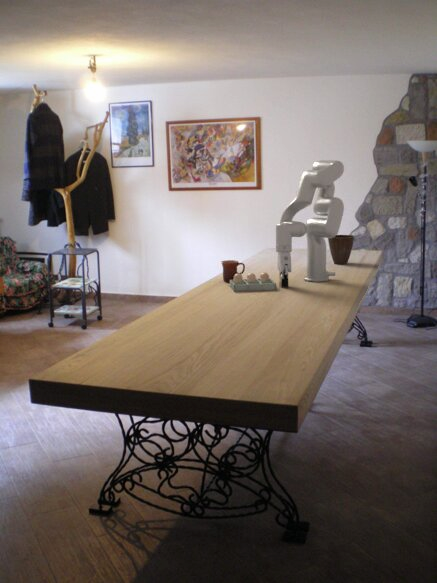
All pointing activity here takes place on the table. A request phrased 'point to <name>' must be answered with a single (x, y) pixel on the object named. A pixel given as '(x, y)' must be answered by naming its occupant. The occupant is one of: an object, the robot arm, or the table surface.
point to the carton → (252, 283)
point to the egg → (280, 281)
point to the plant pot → (341, 248)
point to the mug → (230, 269)
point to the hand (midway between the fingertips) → (283, 285)
